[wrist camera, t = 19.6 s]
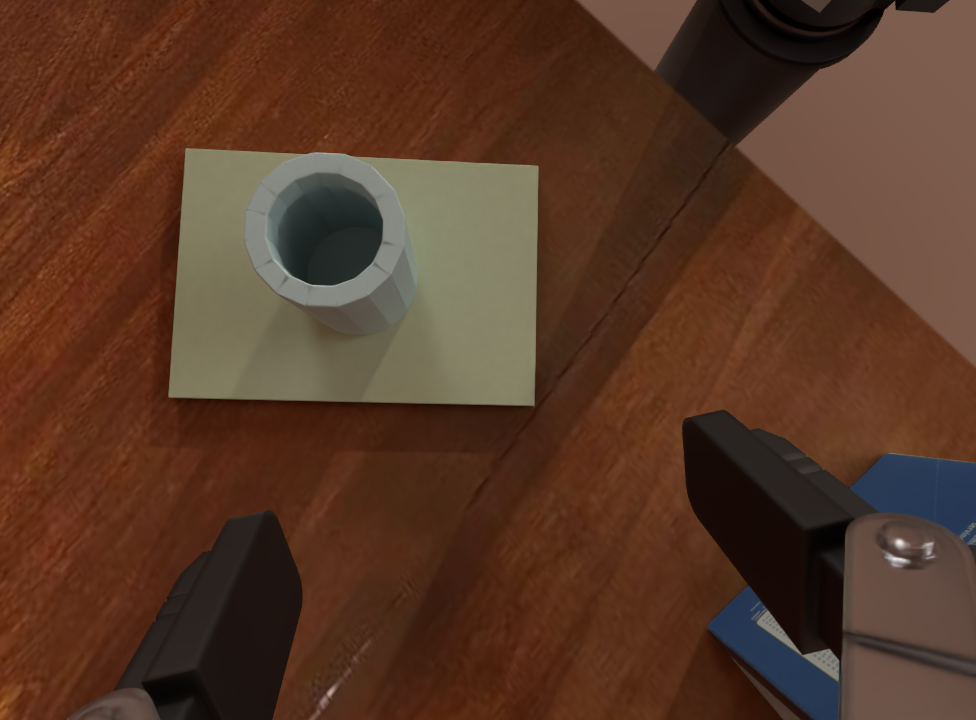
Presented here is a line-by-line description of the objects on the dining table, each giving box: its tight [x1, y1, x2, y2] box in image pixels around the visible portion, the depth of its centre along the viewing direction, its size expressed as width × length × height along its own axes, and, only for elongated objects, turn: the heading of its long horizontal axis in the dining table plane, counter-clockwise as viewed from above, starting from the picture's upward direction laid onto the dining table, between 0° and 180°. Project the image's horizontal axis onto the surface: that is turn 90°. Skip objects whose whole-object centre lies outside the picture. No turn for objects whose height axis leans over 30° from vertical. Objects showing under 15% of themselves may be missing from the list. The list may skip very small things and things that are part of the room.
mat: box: [168, 149, 538, 406], centre depth 32 cm, size 20×14×1 cm
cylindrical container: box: [244, 153, 417, 335], centre depth 27 cm, size 6×6×9 cm
